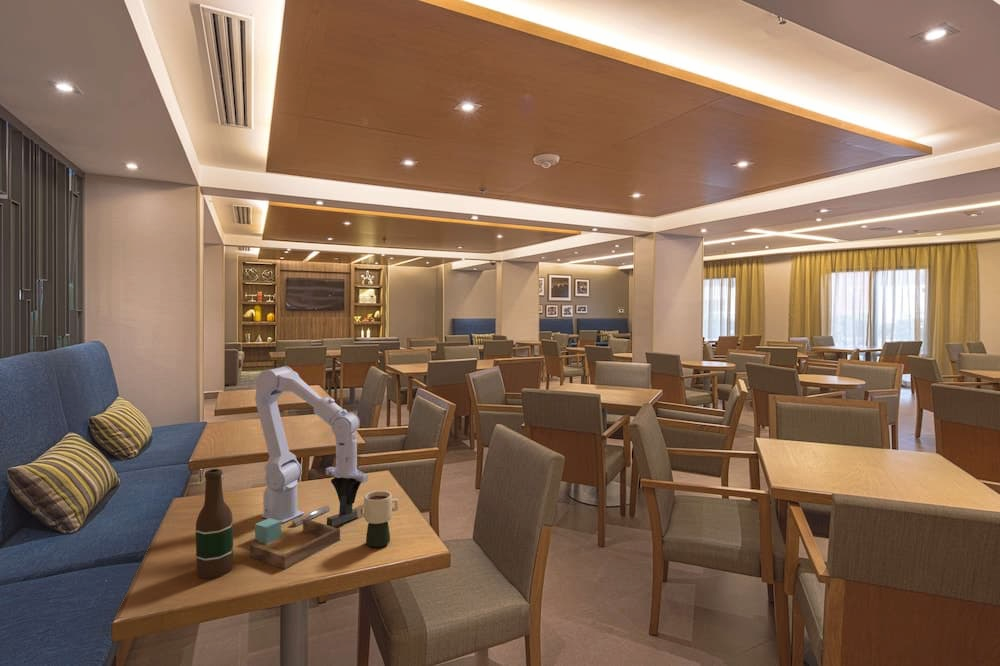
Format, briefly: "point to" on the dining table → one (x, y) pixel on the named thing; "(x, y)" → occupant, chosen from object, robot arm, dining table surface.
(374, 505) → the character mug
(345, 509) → the dark grey bar
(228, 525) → the beer bottle
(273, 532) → the teal block
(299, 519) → the steel rod
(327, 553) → the dining table surface
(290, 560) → the wooden u-shaped frame
